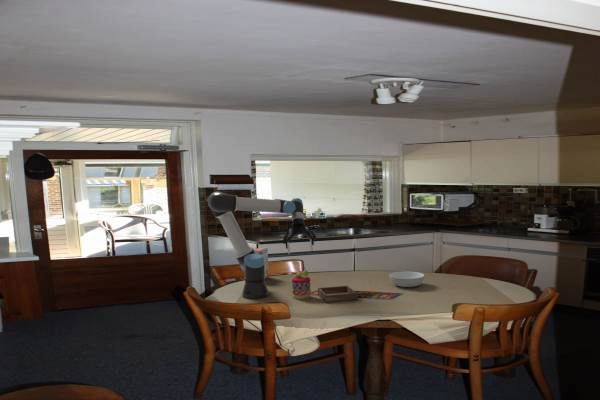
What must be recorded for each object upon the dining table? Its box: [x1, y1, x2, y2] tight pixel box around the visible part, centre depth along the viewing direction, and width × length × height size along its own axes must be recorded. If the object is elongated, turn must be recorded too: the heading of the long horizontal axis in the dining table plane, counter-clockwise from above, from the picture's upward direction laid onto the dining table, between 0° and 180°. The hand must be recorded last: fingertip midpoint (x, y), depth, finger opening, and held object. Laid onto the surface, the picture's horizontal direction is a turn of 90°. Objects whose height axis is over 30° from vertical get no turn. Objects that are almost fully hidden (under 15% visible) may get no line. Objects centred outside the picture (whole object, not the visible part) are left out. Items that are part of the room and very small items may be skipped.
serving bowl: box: [388, 270, 426, 288], centre depth 283 cm, size 21×21×7 cm
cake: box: [291, 269, 312, 301], centre depth 264 cm, size 10×11×15 cm
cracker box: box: [254, 246, 270, 280], centre depth 311 cm, size 14×6×21 cm, turn 160°
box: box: [317, 285, 359, 304], centre depth 261 cm, size 18×18×4 cm
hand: (300, 251), depth 272 cm, fingers open, 13 cm apart
